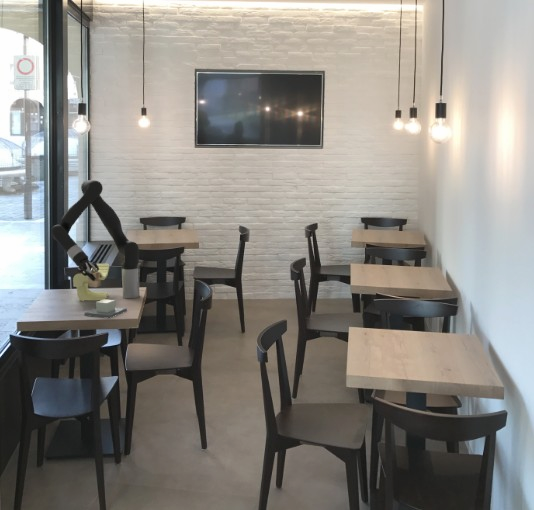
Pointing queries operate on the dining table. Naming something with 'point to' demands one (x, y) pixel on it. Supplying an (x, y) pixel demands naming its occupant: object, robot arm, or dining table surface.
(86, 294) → the slatted curved stool
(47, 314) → the dining table surface
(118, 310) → the tower board
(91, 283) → the oak block
